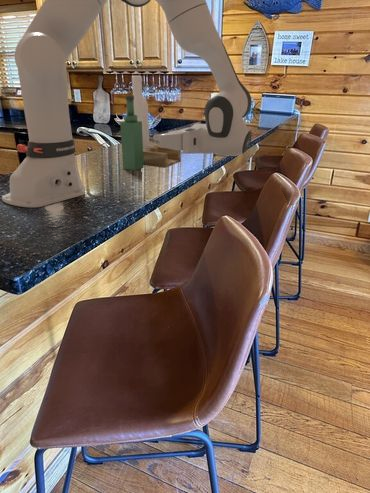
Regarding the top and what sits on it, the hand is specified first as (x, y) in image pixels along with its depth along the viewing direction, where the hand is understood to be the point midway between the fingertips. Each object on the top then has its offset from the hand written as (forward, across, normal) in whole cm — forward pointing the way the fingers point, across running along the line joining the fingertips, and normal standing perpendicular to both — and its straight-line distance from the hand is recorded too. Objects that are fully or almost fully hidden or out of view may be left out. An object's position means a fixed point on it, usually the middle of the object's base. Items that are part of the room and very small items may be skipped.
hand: (162, 135), depth 119 cm
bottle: (+22, -19, +13) cm, 32 cm away
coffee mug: (+15, -71, +13) cm, 74 cm away
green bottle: (+12, 0, +12) cm, 17 cm away
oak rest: (+8, -12, +12) cm, 19 cm away
